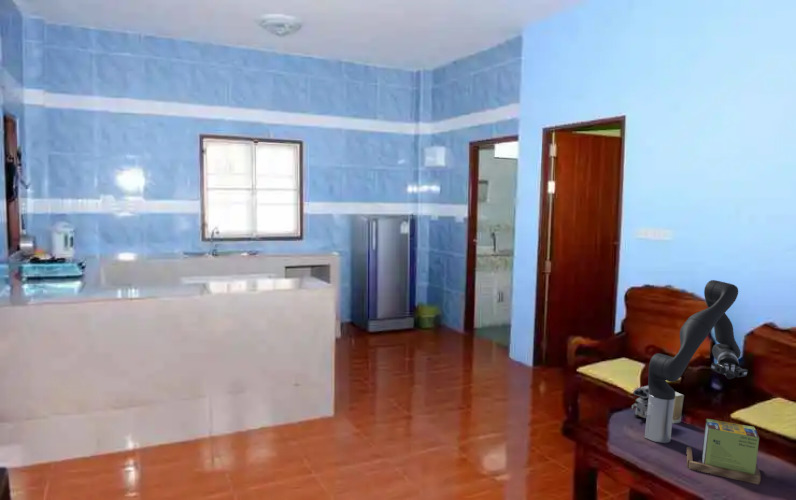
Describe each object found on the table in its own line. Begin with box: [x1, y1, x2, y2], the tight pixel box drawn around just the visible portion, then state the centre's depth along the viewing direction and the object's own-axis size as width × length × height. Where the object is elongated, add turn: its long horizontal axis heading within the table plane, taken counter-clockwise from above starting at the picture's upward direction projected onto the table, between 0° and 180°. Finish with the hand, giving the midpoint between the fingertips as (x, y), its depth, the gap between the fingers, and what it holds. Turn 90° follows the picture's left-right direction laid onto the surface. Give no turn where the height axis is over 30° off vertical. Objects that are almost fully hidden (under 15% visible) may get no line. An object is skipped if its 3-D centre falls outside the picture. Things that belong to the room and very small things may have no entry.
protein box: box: [701, 418, 760, 475], centre depth 202 cm, size 10×15×16 cm
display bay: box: [686, 446, 762, 485], centre depth 203 cm, size 22×14×2 cm, turn 65°
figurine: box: [631, 384, 649, 419], centre depth 243 cm, size 9×12×15 cm
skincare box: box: [672, 391, 685, 424], centre depth 246 cm, size 6×4×12 cm
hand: (730, 376), depth 220 cm, fingers closed
